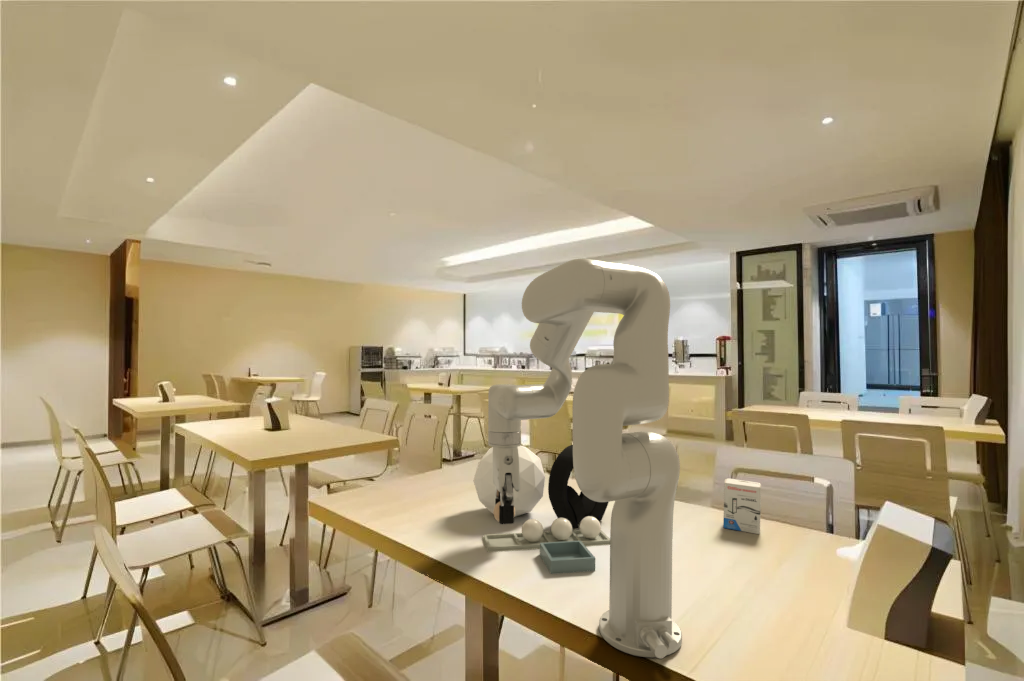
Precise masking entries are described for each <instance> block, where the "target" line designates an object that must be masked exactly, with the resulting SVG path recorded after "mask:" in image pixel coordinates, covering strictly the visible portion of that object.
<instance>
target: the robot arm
mask: <svg viewBox="0 0 1024 681" xmlns="http://www.w3.org/2000/svg"><path fill="white" fill-rule="evenodd" d="M521 310H522V313H523V316H524V317H525V318H526V320H528V321H529V322H530V323H534V324H537V326H536V329H535V331H534V333H533V335H532V337H531V339H530V342H529V348H530V351H531V353H532V354H533V356H534V357H535V358H536V359H537V360H539V361H540V362H541V363H543V364H545V365H547V366H548V367H550V368H551V370H550V372H549V375H548V377H547V379H546V380H545V382H544V384H542V383H541V384H539V383H538V384H510V383H509V384H493V385H491V386H489V388H488V396H487V397H488V402H487V403H488V404H487V405H488V406H487V407H488V408H487V409H488V411H487V412H488V413H487V414H488V415H487V416H488V418H487V420H488V422H487V427H488V429H487V433H488V434H487V439H488V440H487V445H488V446H489V447H490V448H492V447H493V465H492V468H493V483H494V485H495V487H496V498H495V505H496V504H497V503H498V502H499V501H501V505H499V522H498V523H499V524H500V525H511V524H514V522H515V517H514V500H513V488H514V489H515V490H516V491H517V492H518V491H519V490H520V473H519V454H518V446H522V421H526V420H538V419H539V420H540V419H548V418H552V417H554V416H555V415H556V414H557V413H558V412H559V411H560V410H561V409H562V407H563V405H564V403H565V402H566V400H567V398H568V397H569V395H570V392H571V391H572V390H571V389H572V385H573V371H572V367H571V364H570V361H569V360H570V358H571V355H572V353H573V352H574V350H575V348H576V346H577V344H578V342H579V340H580V339H581V337H582V335H583V333H584V331H585V329H586V328H587V326H588V324H589V322H590V320H591V318H592V317H593V315H594V313H602V314H603V313H605V314H607V313H608V314H609V313H611V314H620V315H623V317H622V318H621V319H620V321H619V322H618V324H617V327H616V330H615V332H614V336H613V343H612V345H613V360H612V363H602V364H595V365H592V366H590V367H588V368H586V370H584V371H583V372H582V373H581V374H580V376H579V377H578V379H577V381H576V384H575V386H574V389H573V394H572V445H573V473H574V478H575V481H576V484H577V486H578V489H579V490H580V492H582V493H583V494H584V495H585V496H586V497H587V498H589V499H590V500H593V501H596V502H609V503H610V502H614V503H613V507H612V511H611V515H610V531H609V532H610V534H609V538H610V545H609V597H608V598H609V606H608V610H607V611H605V612H603V613H602V615H601V616H600V618H599V622H598V624H599V626H598V628H599V633H600V635H601V637H602V638H603V639H604V640H605V641H606V642H607V644H609V645H610V646H612V647H614V648H615V649H617V650H618V651H621V652H623V653H625V654H629V655H631V656H635V657H641V658H642V657H643V658H657V659H664V658H665V657H666V656H670V655H672V654H673V653H675V652H677V651H678V650H679V649H680V648H681V646H682V644H683V632H682V630H681V627H680V626H679V625H678V624H677V623H676V621H674V620H673V619H672V608H673V607H672V606H673V605H672V603H673V537H674V536H673V535H674V534H673V532H674V531H673V528H674V509H675V500H676V495H677V490H678V485H679V479H680V473H681V472H680V471H681V467H680V466H681V463H680V461H681V460H680V458H679V454H678V450H677V449H676V447H675V445H674V444H673V443H672V442H671V441H670V440H669V439H668V438H667V437H665V436H664V435H662V434H660V433H656V432H653V431H636V432H635V431H634V432H625V433H623V429H624V426H627V427H628V426H636V425H644V424H645V425H646V424H649V423H655V422H657V421H659V420H661V419H662V418H663V417H664V416H665V415H666V413H667V412H668V407H669V402H670V401H669V400H670V399H669V397H670V382H669V381H670V379H669V378H670V377H669V376H670V374H669V371H670V370H669V365H670V364H669V344H668V343H669V338H668V336H669V334H668V333H669V323H670V313H671V297H670V292H669V290H668V286H667V285H666V283H665V282H664V280H663V279H662V278H661V276H660V275H658V274H657V273H655V272H653V271H651V270H649V269H646V268H644V267H640V266H636V265H631V264H625V263H621V262H619V263H618V262H612V261H604V260H598V259H592V258H575V259H571V260H569V261H566V262H563V263H562V264H560V265H558V266H556V267H554V268H552V269H549V270H548V271H545V272H544V273H541V274H540V275H538V276H537V277H535V278H534V279H533V280H531V282H530V283H529V284H528V285H527V286H526V288H525V290H524V292H523V295H522V298H521Z"/></svg>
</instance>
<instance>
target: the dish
mask: <svg viewBox="0 0 1024 681" xmlns="http://www.w3.org/2000/svg"><path fill="white" fill-rule="evenodd" d="M539 556H540V558H541V560H542V562H543V563H544V564H545V567H546V568H547V569H548V572H549V574H550V575H553V574H554V575H555V574H556V575H557V574H568V573H569V574H570V573H582V572H583V573H584V572H595V571H596V557H595V556H594V554H592V552H591V551H590V550H589V548H587V546H585V545H584V544H583V543H582V542H581V541H564V542H546V543H540V549H539Z"/></svg>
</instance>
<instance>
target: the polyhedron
mask: <svg viewBox="0 0 1024 681" xmlns="http://www.w3.org/2000/svg"><path fill="white" fill-rule="evenodd" d="M518 454H519V473H520V490H519V491H518V492H517V491H516V490H515V489H514V488H513V500H514V507H515V516H514V518H516V517H519V516H522V515H526V514H527V513H530V512H532V511H533V509H534V508H535V507H536V506H537V504H538V503H539V502H540V501H541V499H542V498H543V497H544V490H545V485H546V484H545V482H546V476H545V472H544V467H543V464H542V460H541V458H540V457H539V456H538V455H536V454H535V453H534V452H533V451H531V449H529V448H528V447H527V446H524V445H521V446H518ZM492 465H493V447H490V448H488V450H487V451H486V453H484V455H483V456H482V457H481V459H480V461H479V462H478V463H477V467H476V470H475V473H474V478H473V484H474V487H475V491H476V494H477V498H478V500H479V502H480V503H481V504H482V505H483V506H484V507H485V508H486V509H487V510H488V511H489V512H490V513H491V514H493V510H494V507H495V498H496V487H495V485H494V483H493V468H492Z"/></svg>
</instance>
